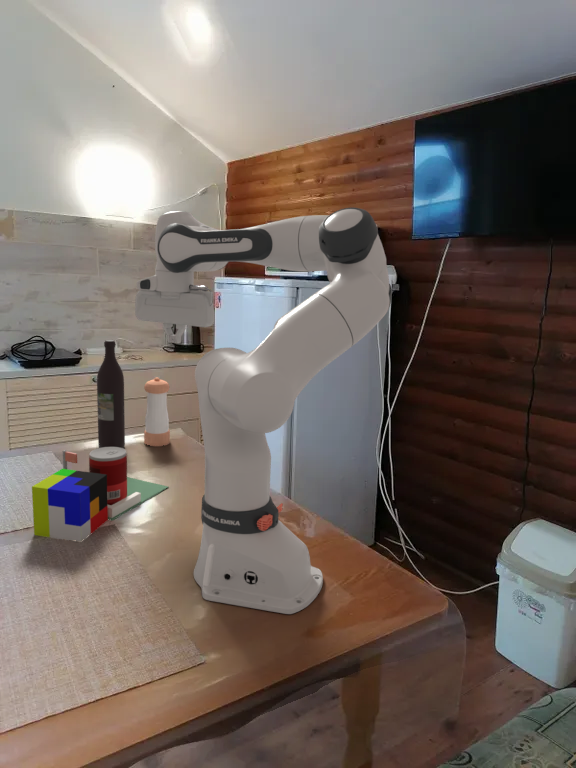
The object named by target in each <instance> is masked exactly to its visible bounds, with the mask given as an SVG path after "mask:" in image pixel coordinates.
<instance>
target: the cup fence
mask: <svg viewBox="0 0 576 768" xmlns="http://www.w3.org/2000/svg"><path fill="white" fill-rule="evenodd" d="M68 462H69V463H72V464H78V454H77V453H76V452H72V451H67V449H64V450H62V469H68ZM139 502H141V493H139V492H135V493H133V494H132V495H130V496H128V497H126V498H124V499H122V500H121V501H119V502H117V503H115V504H113V505H108V504H107V505H108V517H111V518H113V517H115V516H116V515H118V514H120V513H122V512H123V511H125V510H127V509H129V508H130V507H132V506H134V505H136V504H137V503H139Z"/></svg>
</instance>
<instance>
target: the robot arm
mask: <svg viewBox="0 0 576 768" xmlns="http://www.w3.org/2000/svg"><path fill="white" fill-rule="evenodd" d="M155 225H156V226H155V234H154V235H155V236H154V237H155V238H154V252H155V255H156V263H155V264H156V265H155V268H154V275H151V276H149V277H144V278H142V279H139V280H137V281H136V289H137V290H138V291H137V292H136V294H135V299H134V300H135V302H134V307H135V308H134V315H135V317H136V319H137V320H138V321H141V322H142V321H143V322H152V323H161V324H162V329H163V330H164V332H165V335H166V342H167V343H173V344H181V343H182V337H183V334H184V332H185V331H186V329H187V326H189V327H191V326H192V327H198V328H199V327H201V328H208V327H212V326H213V325H214V323H215V320H216V319H215V309H214V292H213V290H211V289H210V288H209V287H208V286H206V285H195V284H194V283H195V279H194V278H195V276H194V275H195V272H196V273H197V272H215V271H219V270H222V269H224V268H225V267H226V266H227V265H228V263H229V262H238V263H239V262H240V263H249V264H255V265H259V266H260V265H261V266H264V267H271V268H274V269H279V270H285V271H291V272H292V271H293V272H306V273H308V272H323V271H324V272H325V271H326V274H327V279H328V282H329V284H327V285H325V286H323V287H322V288H320V289H319V290H317V291H316V292H314V293H313V294H311V296H309V297H308V298H306V299H304V300H303V301H302V302H300V303H299V304H297V305H296V306H295V307H293V308H291V310H289V311H287V312H286V313H285V314H283V315H282V316H281V317H279V318H278V319H277V320H276V321H275V323H274V326H273V328H272V330H271V331H270V333H269V334H268V335H267V336H266V337H265V338H264V339H263V340H262V342H260V343H259V345H257V346H256V347H255V348H254V349H252V350H251V351H248V352H246V351H244V350H241V349H239V348H236V347H219V348H214V349H212V350H209V351H207V352H206V353H204V354H203V355H202V356H201V357H200V359H199V360H198V362H197V364H196V366H195V370H194V381H195V385H196V390H197V398H198V410H199V417H200V418H199V419H200V425H201V432H202V439H203V440H202V441H203V448H204V494H203V495H202V499H201V510H200V512H201V514H200V517H201V518H200V519H201V524H202V533H201V540H200V541H201V542H200V547H199V551H198V556H197V560H196V563H195V566H194V569H193V577H194V580H195V582H196V583H197V584H198V586H199V587H200V588H201V597H202V598H203V599H204V600H206V601H211V602H216V603H222V604H227V605H231V606H232V605H233V606H238V607H244V608H251V609H256V610H262V611H268V612H274V613H278V614H279V613H280V614H284V615H293V614H295V613H298V612H300V611H301V610H303V609H305V608H307V607H308V606H309V605H311V604H312V602H313V601H314V600H315V599H316V598H317V597H318V594H320V592H321V590H322V587H323V585H324V584H323V583H324V579H323V578H324V577H323V572H322V571H321V569H319V568H318V567H315V566H313V565H312V564H311V557H310V553H309V549H308V546H307V545H306V543H304V542H303V541H302V540H301V539H300V538H299V537H298V536H297V535H295V534H294V533H293V532H292V530H290V529H289V528H288V527H287V526H286V525H285V524H284V523H283V522H282V521H281V520H279V515H280V513H281V512H282V511H283V505H284V503H282V502H281V503H280V504H279V505H277V506H276V504H274V502H273V499H272V496H271V494H270V493H271V492H270V491H271V475H272V473H271V472H272V470H271V468H272V454H271V450H270V449H271V448H270V447H269V444H268V441H267V437H266V434H268V433H269V434H270V433H271V432H275V431H276V430H278V429H280V428H281V427H282V426H284V425H285V424H286V423H287V421H288V420H289V418H290V417H291V415H292V413H293V410H294V407H295V401H296V399H297V397H298V396H299V395H300V393H301V392H302V391H303V390H304V389H305V387H306V386H307V385H308V384H309V382H310V381H312V379H313V378H314V377H315V376H316V375H317V374H318V373H319V372H321V371H322V370H323V369H325V367H327V366H328V365H329V364H330V363H332V362H333V361H335V360H336V359H337V358H338V357H340V356H341V355H343V354H344V353H345V352H346V351H348V350H349V349H350V348H352V347H353V346H354V345H356V344H357V343H358V342H360V340H362V339H363V338H364V337H365V336H367V335H368V334H369V333H370V332H371V331H372V330H373V329H374V328H375V327H376V326H377V325H378V323H379V322H380V321H381V320H382V319H383V318H384V317H385V315H386V314H387V313H388V311H389V310H390V306H391V304H392V294H393V292H392V286H391V284H390V277H389V276H390V275H389V269H388V266H387V256H386V254H385V250H384V247H383V243H382V240H381V239H380V236H379V230H378V229H379V228H378V225H377V223H376V222H375V220H374V217H373V216H372V215H371V214H370V212H369V211H367V210H366V209H364V208H358V207H345V208H341V209H338V210H336V211H334V212H332V213H330V214H329V215H328V214H327V215H325V214H324V215H321V214H319V215H317V214H316V215H304V216H303V215H302V216H296V217H291V218H285V219H281V220H276V221H272V222H269V223H265V224H263V223H262V224H259V225H255V226H250V227H244V228H240V229H239V228H237V229H236V228H235V229H222V230H221V229H217V228H215V227H212V226H210V225H207V224H205V223H203V222H201V221H199V220H198V219H197V218H195V217H194V216H193V214H192V213H191V212H189V211H185V210H177V211H175V210H173V211H168V212H164V213H162V214H160V215H159V217H158V218H157V222H156V224H155ZM174 325H175V329H176V333H175V334H174V333H173V332H174V331H173V330H172V327H173V326H174Z"/></svg>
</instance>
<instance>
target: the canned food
mask: <svg viewBox="0 0 576 768" xmlns="http://www.w3.org/2000/svg"><path fill="white" fill-rule="evenodd" d="M127 454H128V453H127V449H125V448H119V447H102V448H99V447H98V448H95V449H92V450H91V451H90V452H89V453H88V463H89V464H88V466H89V471H88V472H91V473H99V474H106V475H107V504H108V505H113V504H115V503H117V502H119V501H121V500H122V499H124V498H126V497H127V477H128V455H127Z"/></svg>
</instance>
